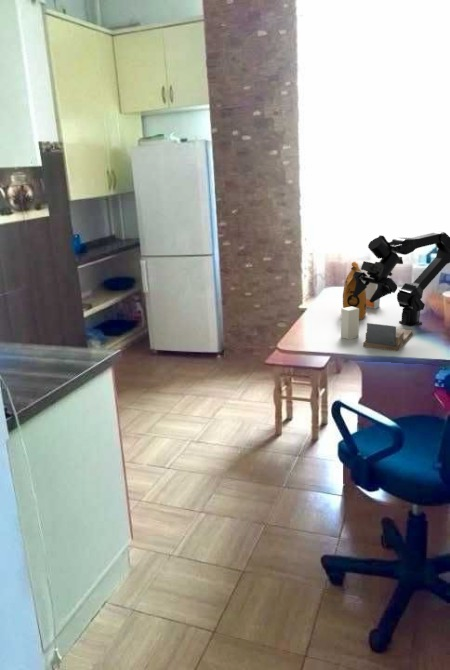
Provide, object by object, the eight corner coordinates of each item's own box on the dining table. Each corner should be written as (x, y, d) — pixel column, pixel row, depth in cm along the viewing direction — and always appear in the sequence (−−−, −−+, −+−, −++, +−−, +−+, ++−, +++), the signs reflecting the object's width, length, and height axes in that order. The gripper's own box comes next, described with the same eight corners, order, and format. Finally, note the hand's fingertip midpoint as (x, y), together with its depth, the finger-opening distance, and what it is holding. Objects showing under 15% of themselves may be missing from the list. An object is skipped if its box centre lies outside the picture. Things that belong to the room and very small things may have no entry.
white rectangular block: (351, 334, 210) (351, 306, 207) (358, 336, 207) (359, 308, 204) (340, 336, 208) (341, 308, 205) (347, 339, 205) (348, 310, 201)
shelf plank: (380, 330, 212) (380, 319, 211) (412, 334, 206) (413, 323, 205) (363, 346, 197) (363, 334, 195) (397, 351, 190) (397, 338, 189)
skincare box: (362, 306, 246) (363, 280, 243) (367, 304, 249) (368, 278, 245) (374, 308, 242) (375, 282, 238) (379, 306, 245) (381, 280, 241)
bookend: (367, 341, 196) (367, 323, 194) (395, 345, 191) (396, 326, 189) (366, 342, 196) (367, 323, 194) (394, 346, 191) (395, 326, 189)
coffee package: (340, 319, 230) (341, 266, 223) (343, 311, 241) (344, 261, 234) (365, 320, 227) (366, 267, 220) (366, 311, 238) (368, 261, 231)
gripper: (357, 249, 211) (333, 282, 209) (392, 256, 195) (367, 291, 194) (372, 267, 217) (349, 299, 215) (408, 275, 201) (383, 309, 199)
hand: (361, 299), depth 206 cm, fingers open, 9 cm apart
